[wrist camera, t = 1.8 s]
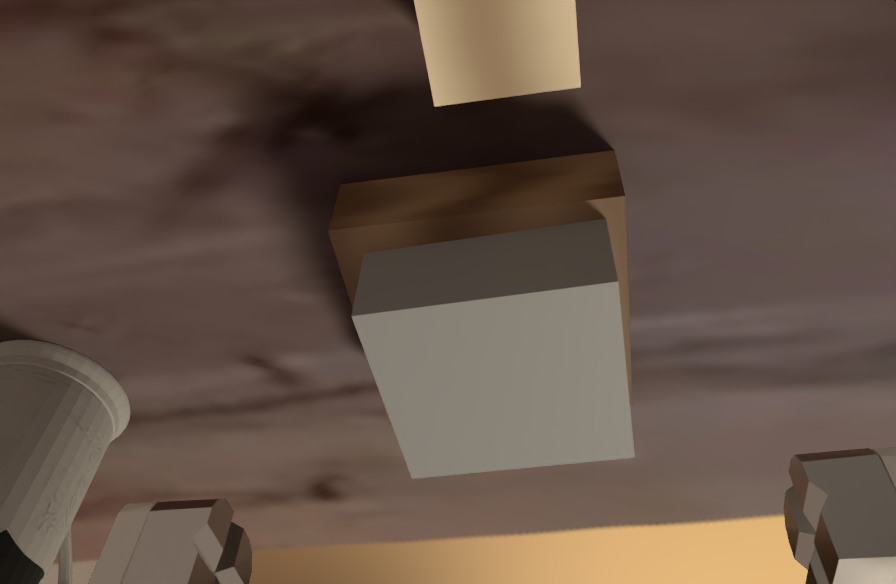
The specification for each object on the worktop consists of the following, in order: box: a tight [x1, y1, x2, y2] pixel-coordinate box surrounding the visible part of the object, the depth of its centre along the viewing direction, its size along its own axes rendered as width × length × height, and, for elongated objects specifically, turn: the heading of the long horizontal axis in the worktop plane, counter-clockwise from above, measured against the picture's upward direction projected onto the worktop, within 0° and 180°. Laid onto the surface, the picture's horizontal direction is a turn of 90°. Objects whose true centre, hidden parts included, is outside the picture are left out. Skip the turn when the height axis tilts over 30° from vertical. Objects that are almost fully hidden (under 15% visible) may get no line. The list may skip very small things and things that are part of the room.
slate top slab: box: [351, 219, 635, 479], centre depth 34 cm, size 10×10×4 cm
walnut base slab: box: [328, 150, 632, 424], centre depth 37 cm, size 12×12×4 cm
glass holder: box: [0, 340, 130, 584], centre depth 41 cm, size 9×14×15 cm, turn 7°
